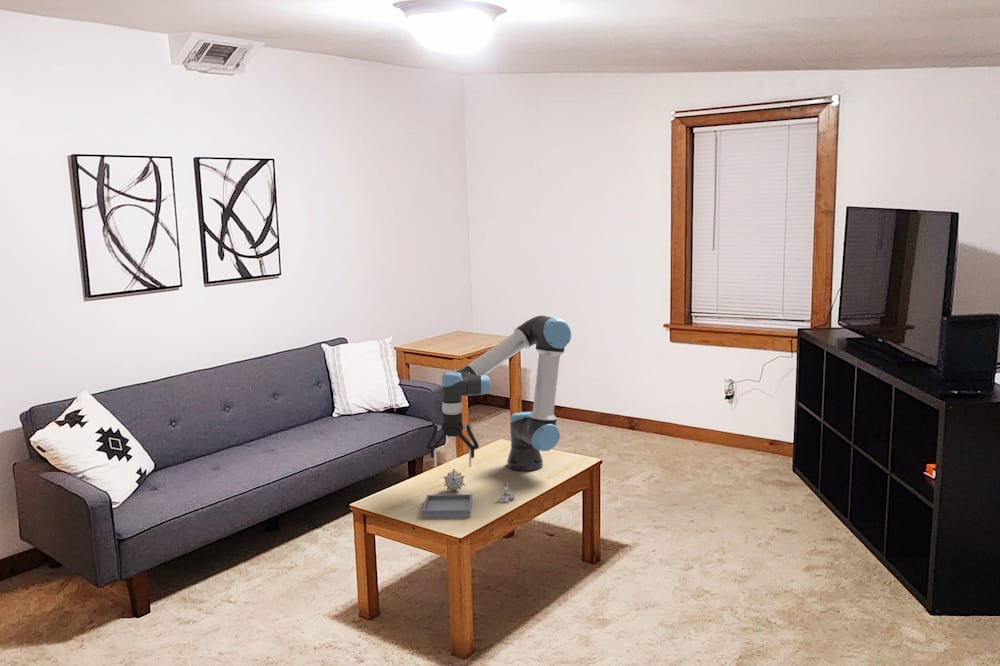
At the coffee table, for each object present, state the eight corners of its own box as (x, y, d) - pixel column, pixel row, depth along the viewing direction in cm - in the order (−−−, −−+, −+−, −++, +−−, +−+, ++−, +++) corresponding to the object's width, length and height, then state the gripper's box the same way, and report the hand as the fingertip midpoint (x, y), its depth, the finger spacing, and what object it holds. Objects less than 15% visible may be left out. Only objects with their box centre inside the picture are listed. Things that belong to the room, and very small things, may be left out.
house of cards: (521, 506, 308) (521, 486, 307) (498, 506, 309) (497, 486, 308) (524, 498, 317) (524, 479, 316) (502, 498, 318) (501, 478, 317)
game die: (462, 488, 329) (461, 464, 328) (468, 495, 321) (467, 470, 320) (440, 491, 326) (439, 466, 325) (446, 498, 318) (445, 472, 317)
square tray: (472, 501, 313) (472, 494, 313) (470, 518, 296) (470, 510, 296) (427, 502, 314) (427, 495, 313) (422, 518, 296) (421, 510, 296)
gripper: (484, 410, 323) (485, 463, 326) (420, 410, 323) (421, 463, 326) (484, 414, 315) (484, 468, 318) (418, 414, 316) (419, 468, 319)
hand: (452, 466), depth 322 cm, fingers open, 13 cm apart
